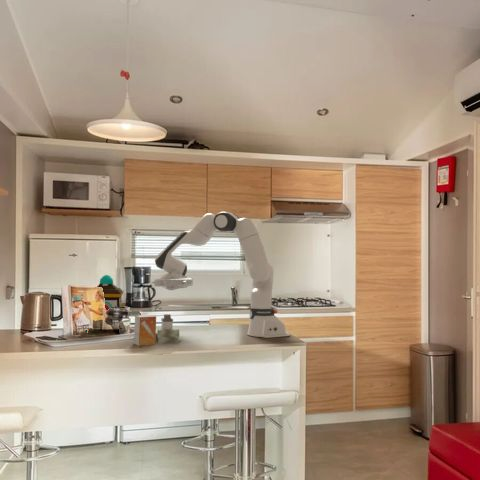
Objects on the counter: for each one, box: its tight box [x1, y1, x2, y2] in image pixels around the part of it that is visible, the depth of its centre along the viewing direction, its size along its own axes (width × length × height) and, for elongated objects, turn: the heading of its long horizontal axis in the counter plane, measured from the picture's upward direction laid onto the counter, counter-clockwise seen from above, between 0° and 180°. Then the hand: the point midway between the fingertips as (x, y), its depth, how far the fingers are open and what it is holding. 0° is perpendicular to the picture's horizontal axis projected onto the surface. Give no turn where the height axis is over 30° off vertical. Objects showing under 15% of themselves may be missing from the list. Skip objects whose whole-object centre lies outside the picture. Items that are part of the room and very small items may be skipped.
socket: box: [155, 328, 180, 344], centre depth 214 cm, size 10×10×6 cm
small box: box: [133, 314, 157, 347], centre depth 205 cm, size 8×6×13 cm
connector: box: [160, 313, 174, 330], centre depth 214 cm, size 5×5×12 cm
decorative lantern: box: [96, 274, 126, 310], centre depth 239 cm, size 20×20×30 cm
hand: (175, 283), depth 230 cm, fingers open, 8 cm apart
